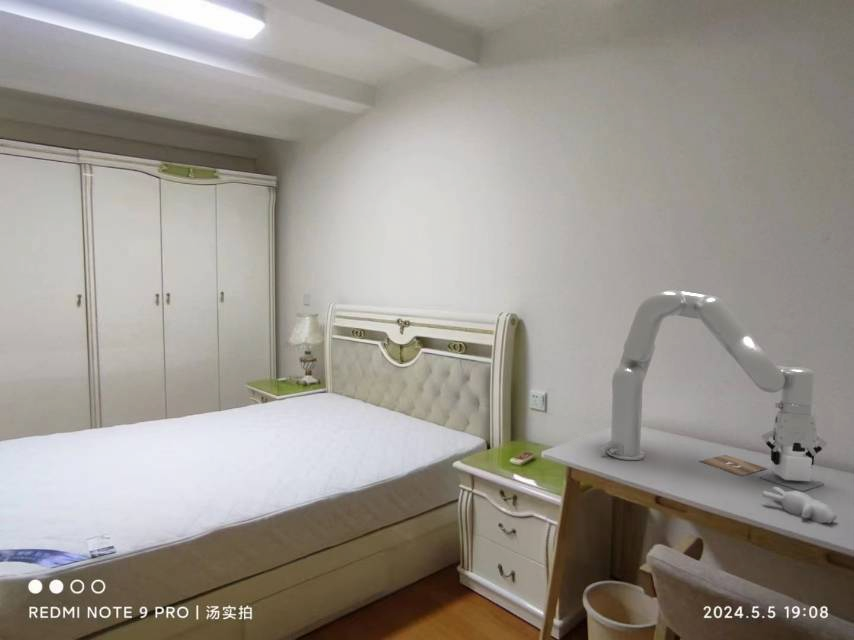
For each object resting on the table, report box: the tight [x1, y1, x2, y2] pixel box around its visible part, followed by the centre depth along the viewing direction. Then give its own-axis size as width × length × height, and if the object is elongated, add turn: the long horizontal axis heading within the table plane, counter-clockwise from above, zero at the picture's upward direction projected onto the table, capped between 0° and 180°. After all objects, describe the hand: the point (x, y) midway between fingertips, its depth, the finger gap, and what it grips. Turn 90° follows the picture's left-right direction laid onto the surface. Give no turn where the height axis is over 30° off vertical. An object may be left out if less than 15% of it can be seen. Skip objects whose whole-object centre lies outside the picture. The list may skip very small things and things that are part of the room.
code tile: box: [699, 454, 768, 477], centre depth 166 cm, size 14×14×1 cm
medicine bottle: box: [771, 443, 813, 481], centre depth 153 cm, size 7×7×12 cm
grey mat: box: [758, 471, 825, 493], centre depth 153 cm, size 12×12×1 cm
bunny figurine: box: [761, 486, 838, 524], centre depth 132 cm, size 10×5×15 cm
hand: (791, 464), depth 153 cm, fingers closed on medicine bottle, 8 cm apart
